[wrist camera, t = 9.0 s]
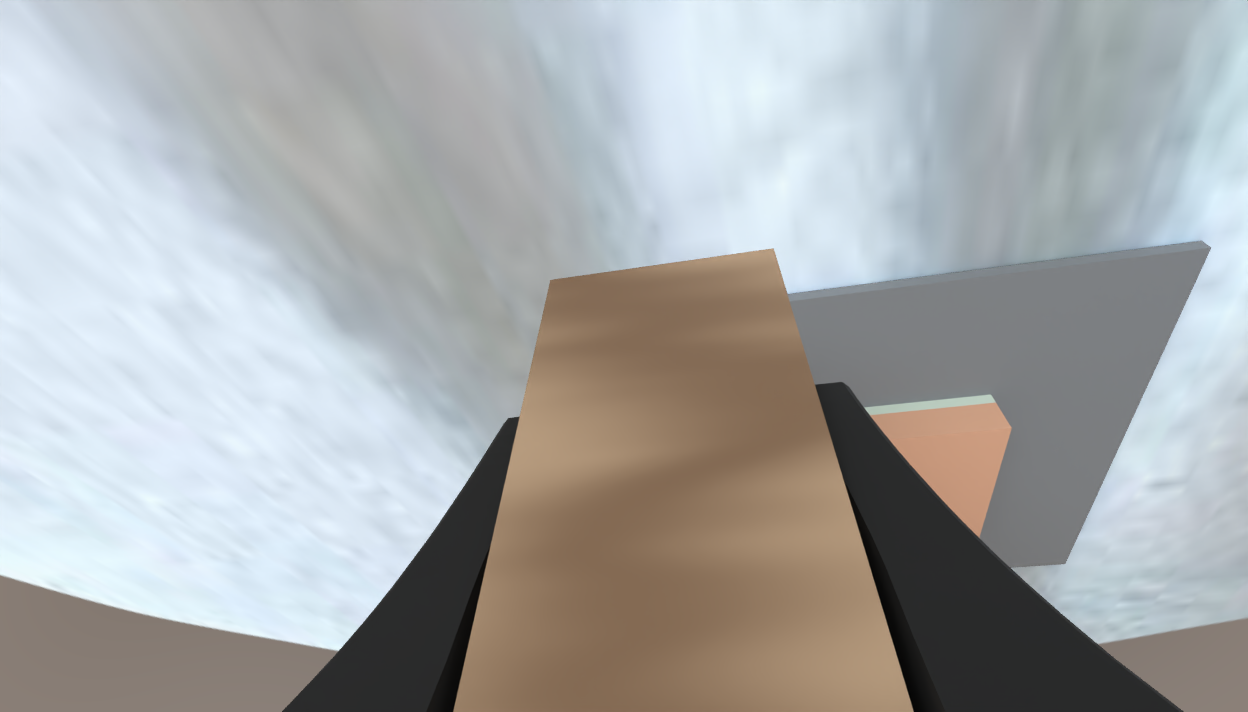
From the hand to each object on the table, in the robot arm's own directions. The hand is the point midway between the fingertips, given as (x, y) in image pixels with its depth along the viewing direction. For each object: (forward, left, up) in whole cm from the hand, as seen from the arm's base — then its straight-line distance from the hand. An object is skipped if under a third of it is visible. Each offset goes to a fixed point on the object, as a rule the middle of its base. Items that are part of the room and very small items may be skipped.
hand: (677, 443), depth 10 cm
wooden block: (0, 0, -3) cm, 3 cm away
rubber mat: (-7, +12, -10) cm, 17 cm away
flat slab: (-7, +9, -8) cm, 14 cm away
